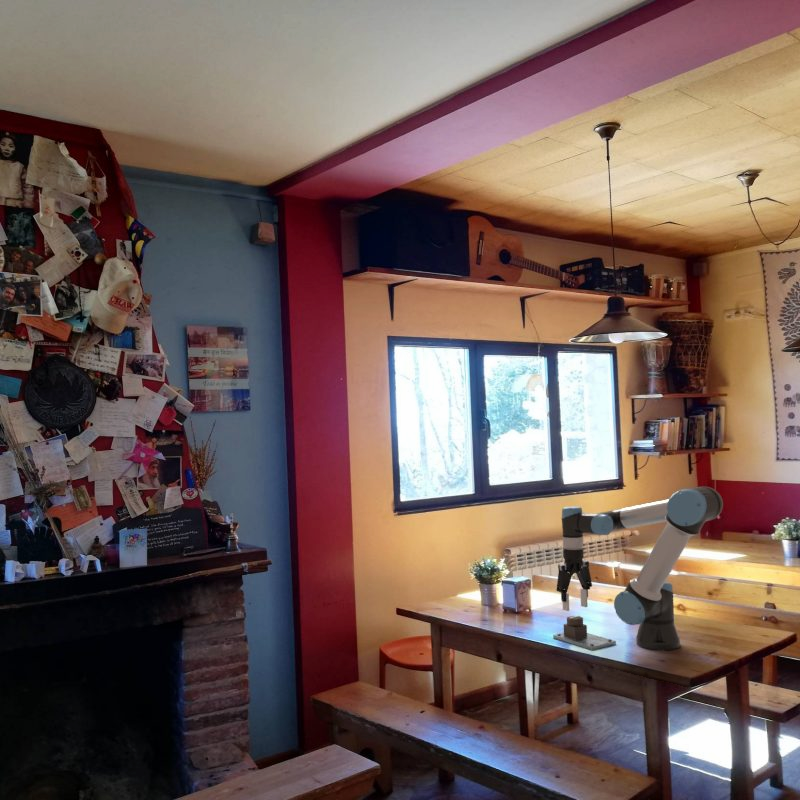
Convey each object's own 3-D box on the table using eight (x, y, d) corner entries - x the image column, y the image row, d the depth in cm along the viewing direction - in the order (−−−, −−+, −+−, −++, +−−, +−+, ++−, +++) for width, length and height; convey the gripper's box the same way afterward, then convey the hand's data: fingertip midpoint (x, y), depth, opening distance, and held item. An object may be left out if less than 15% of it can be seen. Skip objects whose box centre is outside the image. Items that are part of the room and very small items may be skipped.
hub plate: (615, 644, 288) (615, 631, 288) (591, 650, 282) (591, 637, 282) (576, 632, 305) (576, 620, 305) (552, 638, 299) (552, 625, 299)
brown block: (587, 635, 296) (586, 617, 296) (575, 638, 293) (574, 619, 293) (575, 632, 301) (574, 614, 302) (563, 635, 298) (563, 616, 298)
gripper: (586, 543, 307) (588, 602, 306) (544, 549, 295) (547, 610, 295) (600, 546, 300) (602, 606, 300) (558, 552, 289) (561, 614, 288)
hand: (575, 608), depth 297 cm, fingers open, 9 cm apart
